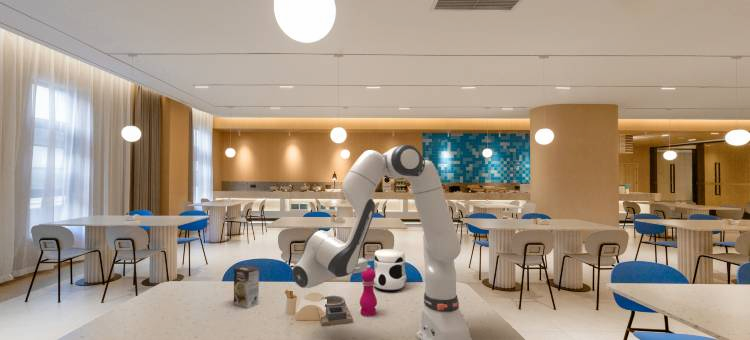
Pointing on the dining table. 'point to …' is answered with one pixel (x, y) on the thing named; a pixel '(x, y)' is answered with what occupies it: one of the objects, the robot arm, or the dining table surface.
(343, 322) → the caddy board
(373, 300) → the pepper mill
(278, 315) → the dining table surface
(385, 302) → the dining table surface
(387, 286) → the milk container
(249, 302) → the coffee box
